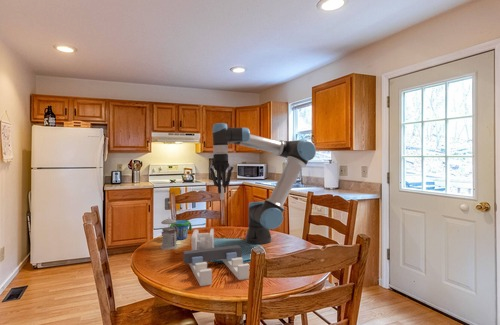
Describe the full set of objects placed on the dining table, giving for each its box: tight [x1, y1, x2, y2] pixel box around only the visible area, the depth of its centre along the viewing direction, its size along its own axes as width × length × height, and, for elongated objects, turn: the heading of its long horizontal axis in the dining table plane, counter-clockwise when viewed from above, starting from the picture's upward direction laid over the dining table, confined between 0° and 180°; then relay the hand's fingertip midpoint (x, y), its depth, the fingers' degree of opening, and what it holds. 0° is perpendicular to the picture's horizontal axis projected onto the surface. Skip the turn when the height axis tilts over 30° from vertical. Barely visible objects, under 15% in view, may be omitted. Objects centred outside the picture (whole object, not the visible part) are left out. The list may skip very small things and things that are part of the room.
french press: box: [159, 201, 179, 251], centre depth 163 cm, size 10×12×25 cm
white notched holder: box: [188, 252, 251, 287], centre depth 129 cm, size 20×26×6 cm
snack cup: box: [169, 219, 193, 241], centre depth 181 cm, size 16×10×10 cm
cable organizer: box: [190, 228, 215, 250], centre depth 151 cm, size 15×11×12 cm
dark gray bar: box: [182, 244, 242, 265], centre depth 136 cm, size 26×4×4 cm, turn 111°
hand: (222, 199), depth 154 cm, fingers closed
